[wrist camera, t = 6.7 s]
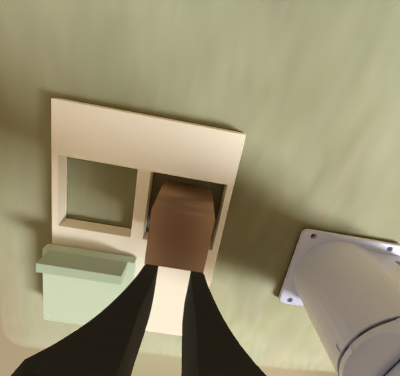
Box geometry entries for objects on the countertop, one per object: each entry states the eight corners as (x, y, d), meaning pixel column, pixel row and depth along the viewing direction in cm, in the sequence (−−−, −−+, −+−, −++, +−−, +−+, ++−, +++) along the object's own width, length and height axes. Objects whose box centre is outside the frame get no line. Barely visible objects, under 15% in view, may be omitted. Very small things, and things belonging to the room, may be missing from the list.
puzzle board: (243, 132, 20) (245, 135, 19) (197, 326, 27) (197, 338, 25) (61, 98, 19) (51, 98, 18) (60, 306, 26) (52, 317, 25)
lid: (136, 257, 22) (128, 277, 20) (128, 324, 25) (120, 349, 22) (47, 243, 22) (28, 262, 19) (48, 312, 24) (31, 336, 22)
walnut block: (211, 188, 22) (215, 220, 16) (203, 230, 23) (203, 272, 17) (164, 180, 22) (151, 209, 16) (158, 222, 23) (144, 263, 17)
